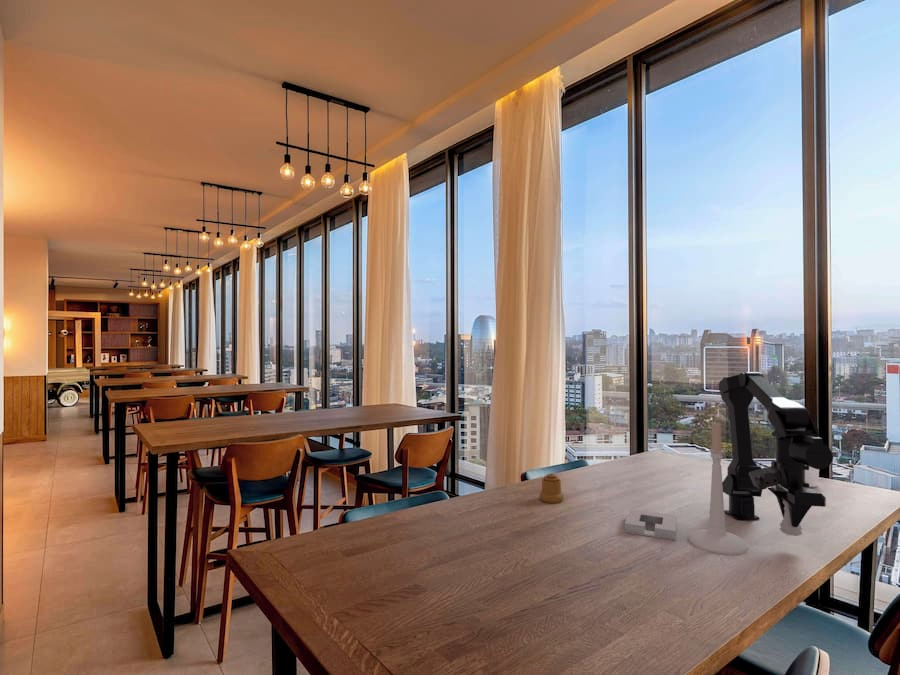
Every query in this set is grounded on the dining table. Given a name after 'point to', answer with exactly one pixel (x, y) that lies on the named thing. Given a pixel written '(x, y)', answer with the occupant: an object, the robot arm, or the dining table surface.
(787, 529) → the rook chess piece
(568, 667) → the dining table surface
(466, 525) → the dining table surface
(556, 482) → the ornamental finial
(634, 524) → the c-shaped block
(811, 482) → the white cup
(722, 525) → the candlestick
